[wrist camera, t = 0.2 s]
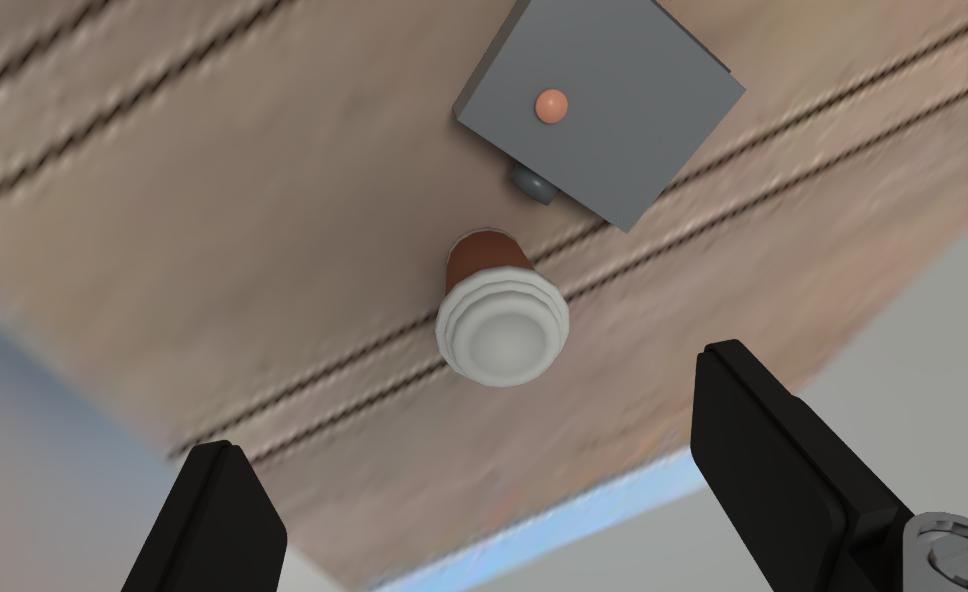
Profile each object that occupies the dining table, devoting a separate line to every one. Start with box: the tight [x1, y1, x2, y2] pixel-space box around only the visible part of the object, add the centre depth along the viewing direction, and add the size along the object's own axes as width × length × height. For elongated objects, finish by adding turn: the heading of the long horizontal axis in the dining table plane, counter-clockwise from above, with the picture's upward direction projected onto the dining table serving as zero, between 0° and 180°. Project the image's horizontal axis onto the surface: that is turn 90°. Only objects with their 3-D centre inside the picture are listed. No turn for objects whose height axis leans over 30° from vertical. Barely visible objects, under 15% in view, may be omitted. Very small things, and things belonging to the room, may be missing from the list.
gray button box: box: [453, 0, 746, 234], centre depth 35 cm, size 14×15×5 cm
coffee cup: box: [435, 227, 570, 388], centre depth 38 cm, size 9×9×12 cm
